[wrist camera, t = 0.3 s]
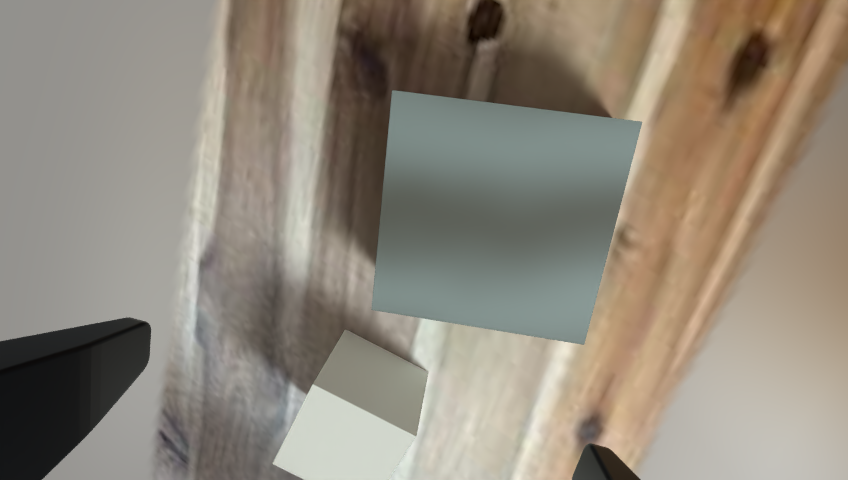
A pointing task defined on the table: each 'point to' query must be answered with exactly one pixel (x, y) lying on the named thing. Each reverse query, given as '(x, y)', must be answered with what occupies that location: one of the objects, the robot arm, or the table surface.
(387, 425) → the cream block
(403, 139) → the slate block
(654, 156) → the table surface
